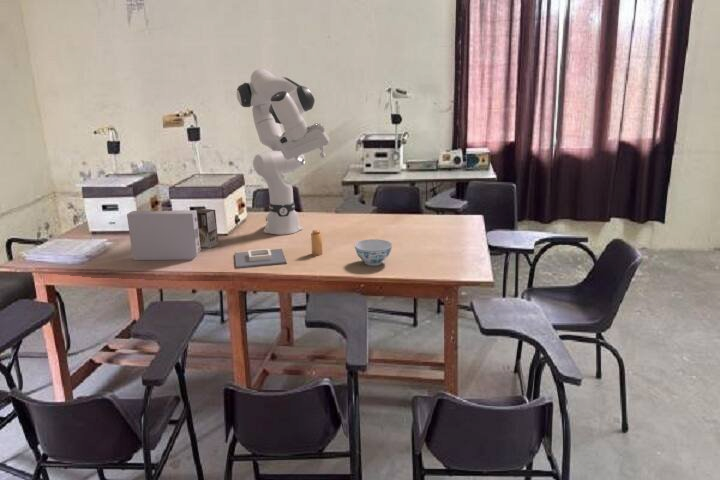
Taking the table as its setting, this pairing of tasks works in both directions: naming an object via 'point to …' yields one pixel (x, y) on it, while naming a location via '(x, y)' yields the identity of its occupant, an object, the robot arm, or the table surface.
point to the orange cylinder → (316, 242)
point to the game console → (164, 234)
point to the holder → (259, 258)
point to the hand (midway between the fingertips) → (313, 160)
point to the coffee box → (207, 227)
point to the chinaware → (373, 250)
